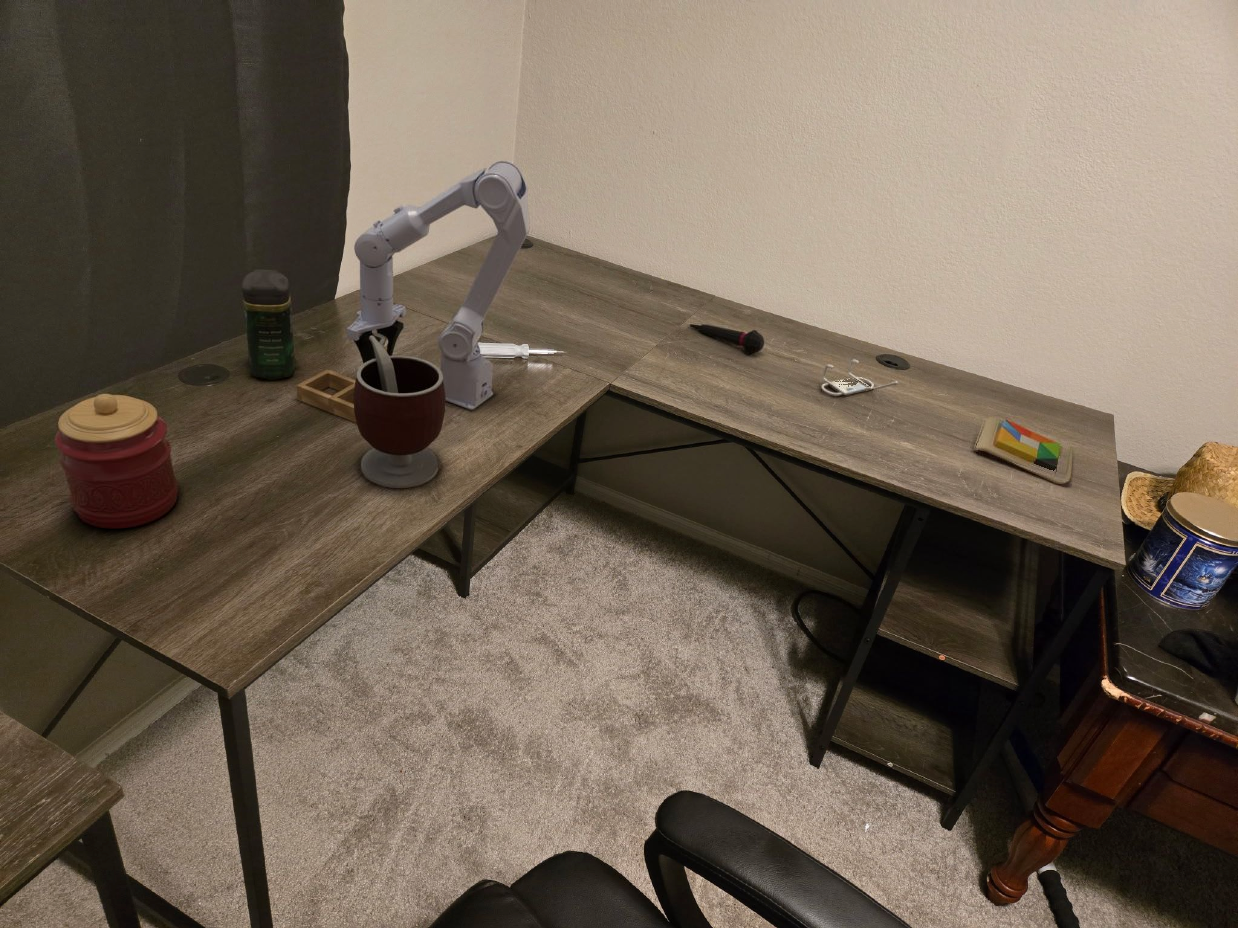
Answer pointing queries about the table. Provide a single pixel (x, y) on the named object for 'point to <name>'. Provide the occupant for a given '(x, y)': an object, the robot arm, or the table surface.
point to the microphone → (734, 337)
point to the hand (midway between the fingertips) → (377, 361)
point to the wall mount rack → (851, 389)
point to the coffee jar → (268, 324)
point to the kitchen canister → (116, 461)
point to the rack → (333, 404)
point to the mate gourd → (399, 417)
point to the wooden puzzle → (1021, 446)
